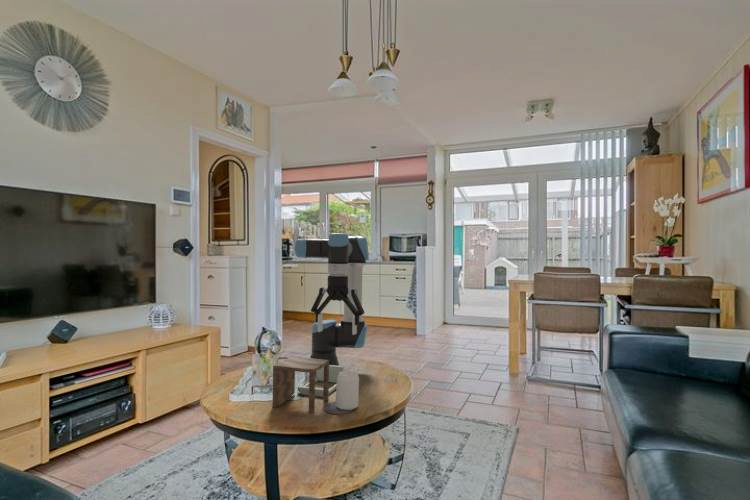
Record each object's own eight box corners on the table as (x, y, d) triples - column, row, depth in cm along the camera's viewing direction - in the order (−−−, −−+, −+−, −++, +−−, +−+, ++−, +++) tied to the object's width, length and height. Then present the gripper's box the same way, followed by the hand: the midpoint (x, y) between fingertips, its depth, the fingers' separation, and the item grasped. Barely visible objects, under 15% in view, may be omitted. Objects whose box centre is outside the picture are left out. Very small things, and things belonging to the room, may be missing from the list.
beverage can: (354, 412, 145) (355, 377, 146) (332, 409, 147) (333, 375, 148) (360, 404, 153) (361, 372, 153) (339, 402, 155) (341, 369, 155)
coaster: (330, 401, 157) (330, 400, 157) (357, 405, 154) (357, 403, 154) (318, 412, 146) (318, 410, 146) (347, 416, 143) (347, 414, 143)
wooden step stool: (291, 394, 164) (291, 356, 164) (328, 399, 159) (329, 360, 159) (272, 407, 150) (273, 365, 150) (312, 413, 145) (313, 369, 146)
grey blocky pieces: (318, 378, 184) (318, 363, 184) (344, 381, 180) (344, 365, 180) (297, 393, 165) (298, 375, 165) (325, 396, 161) (326, 378, 161)
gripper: (302, 274, 152) (301, 332, 153) (367, 277, 145) (366, 337, 146) (311, 273, 160) (310, 328, 160) (373, 275, 153) (372, 333, 153)
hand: (337, 332), depth 153 cm, fingers open, 13 cm apart
